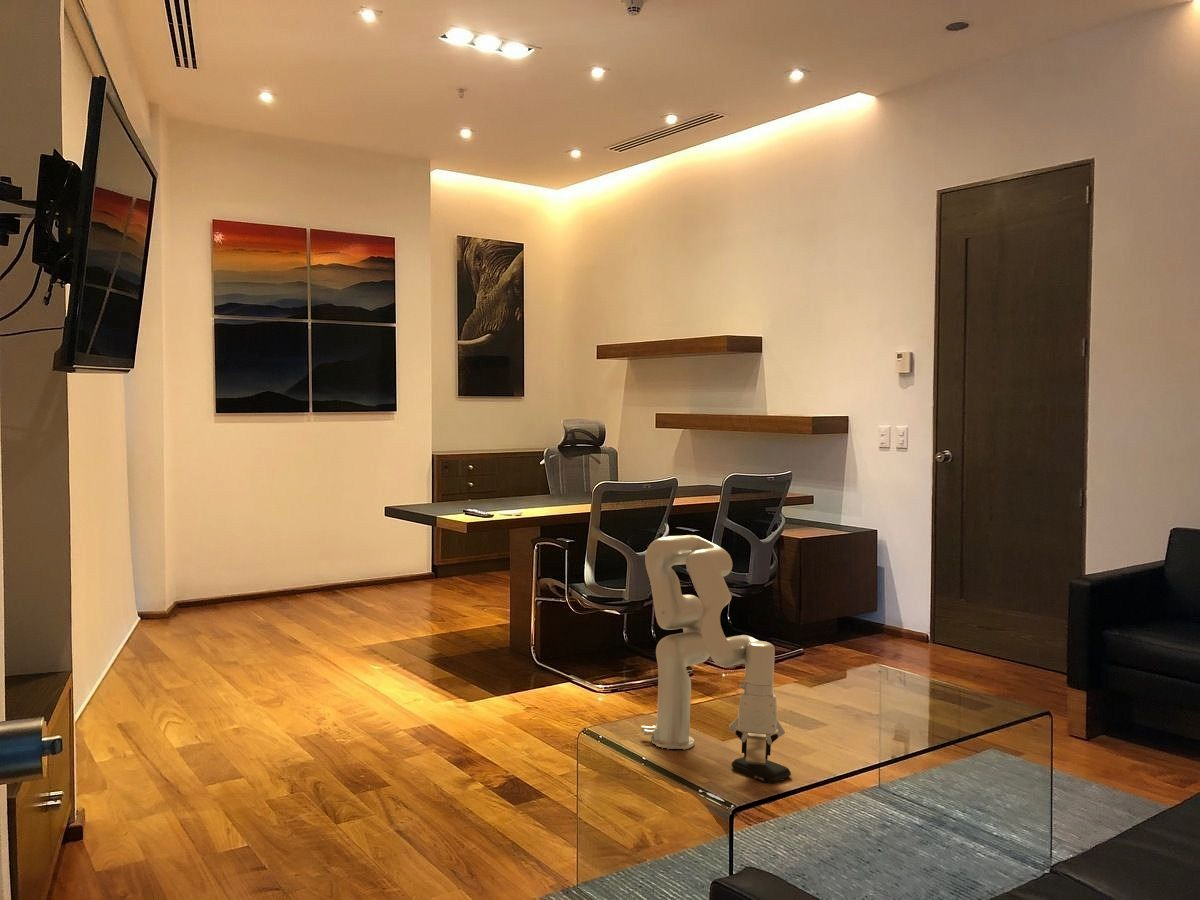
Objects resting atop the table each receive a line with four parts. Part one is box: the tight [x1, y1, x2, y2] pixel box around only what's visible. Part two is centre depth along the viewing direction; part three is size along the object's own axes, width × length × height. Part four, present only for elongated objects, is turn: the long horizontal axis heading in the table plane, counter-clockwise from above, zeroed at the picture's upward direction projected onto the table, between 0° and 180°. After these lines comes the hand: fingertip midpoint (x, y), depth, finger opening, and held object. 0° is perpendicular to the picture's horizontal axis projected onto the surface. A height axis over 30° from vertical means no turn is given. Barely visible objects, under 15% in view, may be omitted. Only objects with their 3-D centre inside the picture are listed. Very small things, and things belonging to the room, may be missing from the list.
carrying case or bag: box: [731, 756, 792, 784], centre depth 252 cm, size 11×3×15 cm
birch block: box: [746, 733, 767, 763], centre depth 250 cm, size 5×5×6 cm
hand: (755, 756), depth 250 cm, fingers closed on birch block, 4 cm apart
